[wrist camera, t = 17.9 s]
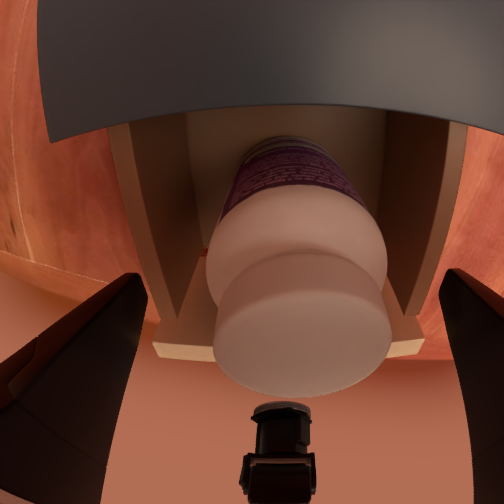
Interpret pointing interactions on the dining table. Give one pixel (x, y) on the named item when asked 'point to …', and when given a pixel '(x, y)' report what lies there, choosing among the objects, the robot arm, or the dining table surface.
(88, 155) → the dining table surface
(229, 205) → the pill bottle
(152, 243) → the drawer
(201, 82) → the cabinet
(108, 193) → the dining table surface
